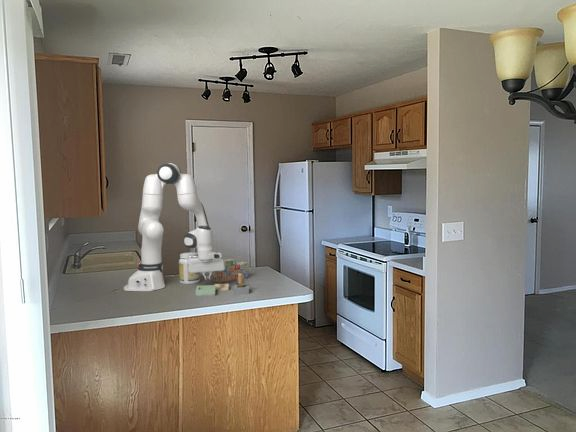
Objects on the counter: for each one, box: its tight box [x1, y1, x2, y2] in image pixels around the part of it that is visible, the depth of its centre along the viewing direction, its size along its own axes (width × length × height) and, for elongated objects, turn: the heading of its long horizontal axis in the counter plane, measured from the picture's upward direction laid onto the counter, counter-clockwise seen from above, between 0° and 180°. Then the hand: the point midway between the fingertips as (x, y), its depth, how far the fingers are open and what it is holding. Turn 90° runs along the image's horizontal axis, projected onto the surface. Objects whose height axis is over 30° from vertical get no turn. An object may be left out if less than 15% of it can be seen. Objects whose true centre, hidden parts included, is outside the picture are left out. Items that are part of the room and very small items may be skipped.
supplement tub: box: [178, 252, 201, 285], centre depth 288 cm, size 12×12×17 cm
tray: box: [195, 284, 217, 297], centre depth 264 cm, size 10×10×3 cm
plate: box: [214, 283, 230, 291], centre depth 273 cm, size 8×6×2 cm
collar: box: [233, 284, 250, 295], centre depth 267 cm, size 8×8×3 cm
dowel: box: [238, 273, 245, 288], centre depth 266 cm, size 3×3×10 cm
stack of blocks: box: [212, 258, 250, 283], centre depth 296 cm, size 21×6×12 cm, turn 126°
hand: (207, 279), depth 273 cm, fingers closed
